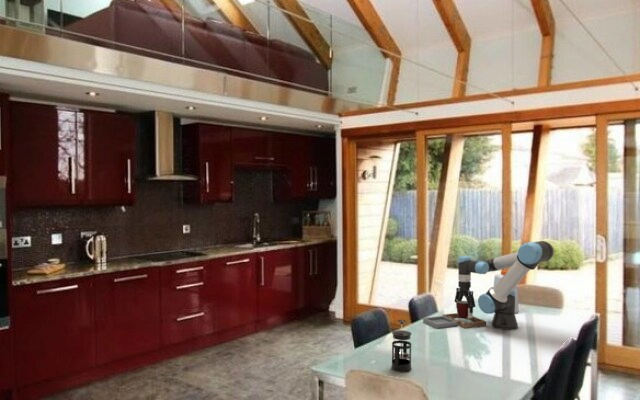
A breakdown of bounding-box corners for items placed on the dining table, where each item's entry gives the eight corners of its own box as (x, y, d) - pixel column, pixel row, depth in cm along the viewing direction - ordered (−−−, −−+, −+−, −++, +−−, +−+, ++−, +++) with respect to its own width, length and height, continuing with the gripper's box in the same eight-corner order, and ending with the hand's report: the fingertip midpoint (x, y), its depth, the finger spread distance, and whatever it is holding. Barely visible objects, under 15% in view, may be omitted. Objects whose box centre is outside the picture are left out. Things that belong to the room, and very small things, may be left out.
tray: (457, 326, 307) (457, 321, 307) (436, 329, 302) (437, 324, 302) (443, 320, 321) (443, 315, 321) (423, 322, 316) (423, 318, 316)
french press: (396, 363, 242) (396, 316, 242) (414, 367, 237) (415, 318, 237) (386, 370, 232) (387, 321, 232) (405, 374, 227) (406, 324, 227)
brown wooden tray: (486, 326, 309) (486, 321, 309) (464, 328, 303) (464, 323, 303) (462, 317, 330) (462, 312, 330) (442, 319, 324) (442, 314, 324)
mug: (475, 318, 315) (475, 302, 315) (469, 320, 309) (469, 304, 309) (459, 315, 322) (459, 300, 322) (454, 318, 316) (454, 302, 316)
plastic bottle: (489, 309, 353) (490, 269, 352) (510, 308, 354) (510, 269, 354) (499, 314, 338) (500, 273, 337) (521, 314, 339) (521, 272, 339)
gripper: (448, 278, 325) (448, 312, 325) (471, 284, 304) (471, 320, 304) (458, 277, 328) (458, 311, 328) (481, 283, 307) (481, 319, 307)
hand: (464, 316), depth 316 cm, fingers closed on mug, 10 cm apart
